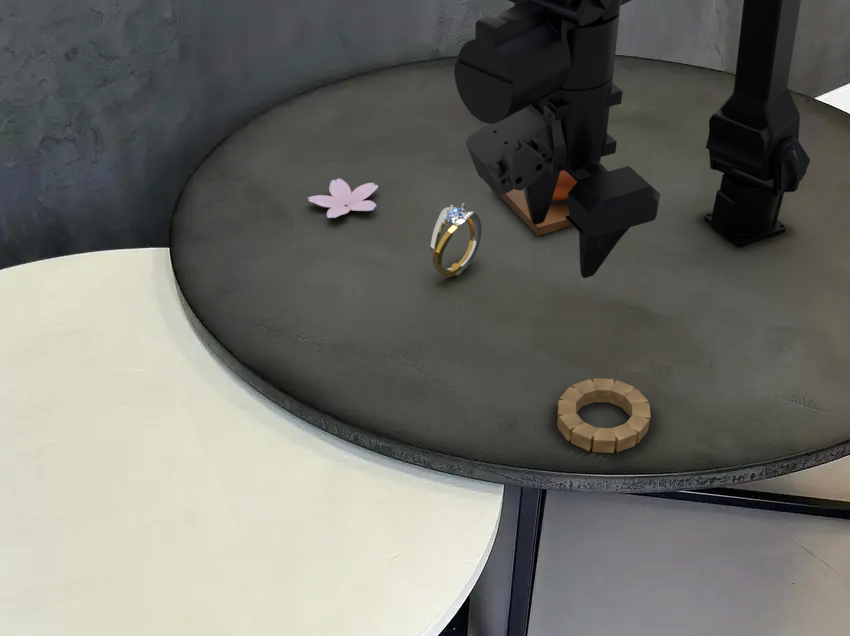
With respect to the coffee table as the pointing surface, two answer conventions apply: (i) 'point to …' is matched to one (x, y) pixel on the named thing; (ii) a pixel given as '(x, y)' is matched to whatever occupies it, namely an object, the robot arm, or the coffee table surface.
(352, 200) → the flower
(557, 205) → the ball stand
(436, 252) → the ring
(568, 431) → the ring
